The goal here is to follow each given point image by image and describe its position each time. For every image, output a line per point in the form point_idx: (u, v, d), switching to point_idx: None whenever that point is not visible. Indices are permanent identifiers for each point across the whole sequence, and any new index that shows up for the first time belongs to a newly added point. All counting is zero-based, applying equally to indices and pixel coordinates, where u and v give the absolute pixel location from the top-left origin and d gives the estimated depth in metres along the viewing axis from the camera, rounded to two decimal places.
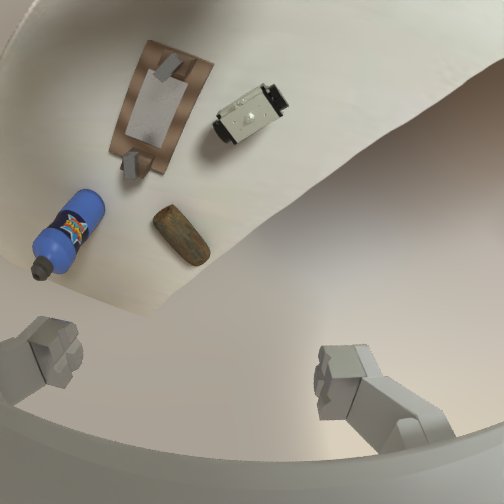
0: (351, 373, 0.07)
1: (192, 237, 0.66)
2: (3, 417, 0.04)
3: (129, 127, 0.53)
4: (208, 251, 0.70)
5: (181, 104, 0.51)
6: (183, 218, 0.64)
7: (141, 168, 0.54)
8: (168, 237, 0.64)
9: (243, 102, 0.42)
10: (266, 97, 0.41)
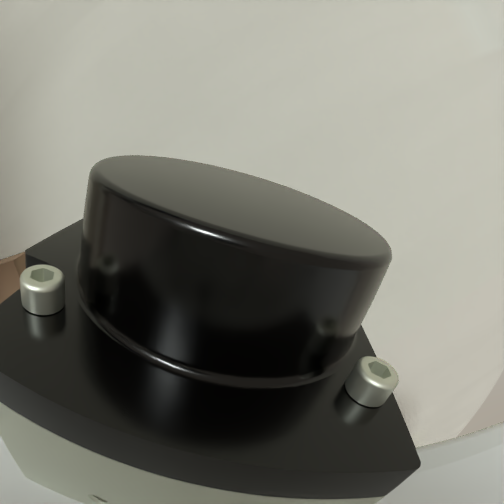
0: None
1: None
2: None
3: None
4: None
5: None
6: None
7: None
8: None
9: None
10: (32, 420, 0.02)
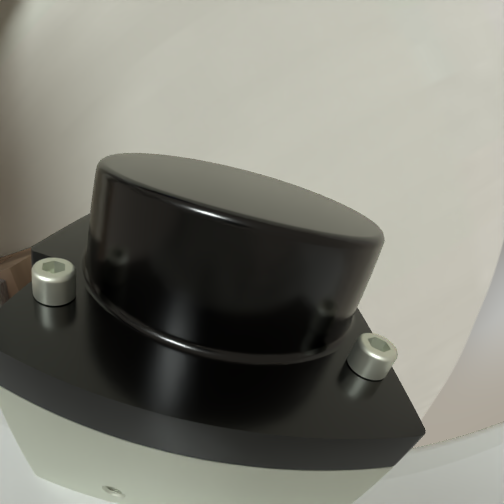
0: None
1: None
2: (3, 417, 0.04)
3: None
4: None
5: None
6: None
7: None
8: None
9: None
10: (49, 408, 0.02)
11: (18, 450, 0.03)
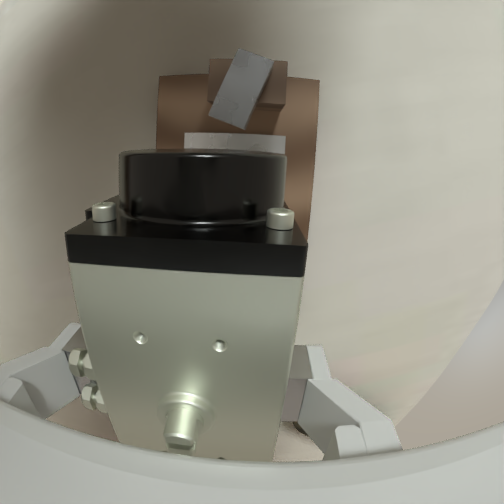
0: (297, 374, 0.07)
1: None
2: (3, 417, 0.04)
3: None
4: None
5: (287, 189, 0.25)
6: None
7: None
8: None
9: (90, 373, 0.07)
10: (104, 260, 0.05)
11: (18, 450, 0.03)
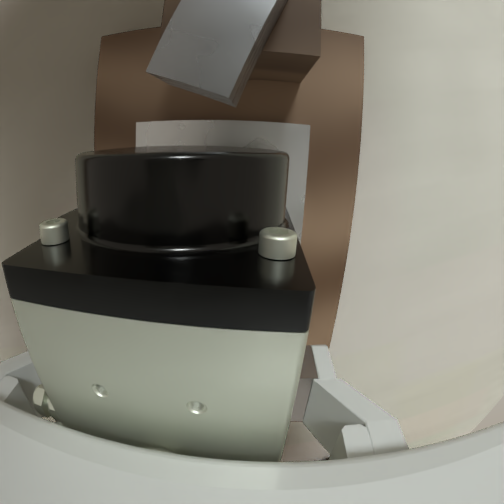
0: (303, 374, 0.07)
1: None
2: (3, 417, 0.04)
3: None
4: None
5: (310, 216, 0.15)
6: None
7: None
8: None
9: (56, 415, 0.05)
10: (45, 300, 0.04)
11: (18, 450, 0.03)
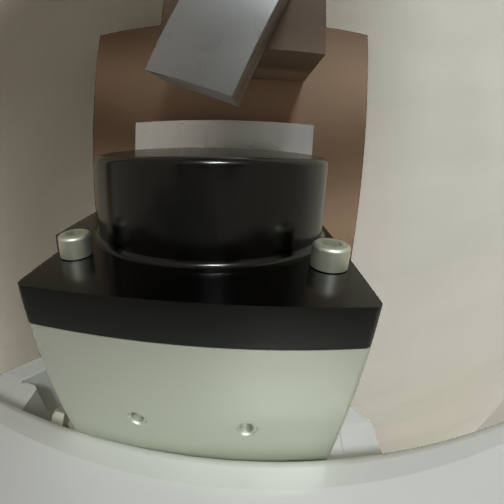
0: None
1: None
2: (3, 417, 0.04)
3: None
4: None
5: None
6: None
7: None
8: None
9: None
10: (75, 326, 0.03)
11: (18, 450, 0.03)
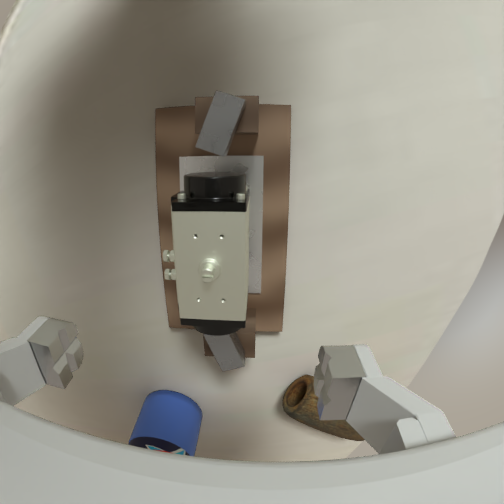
0: (351, 373, 0.07)
1: None
2: (3, 417, 0.04)
3: None
4: None
5: (267, 200, 0.30)
6: None
7: (246, 341, 0.29)
8: (319, 425, 0.34)
9: (171, 258, 0.20)
10: (185, 209, 0.19)
11: (18, 450, 0.03)
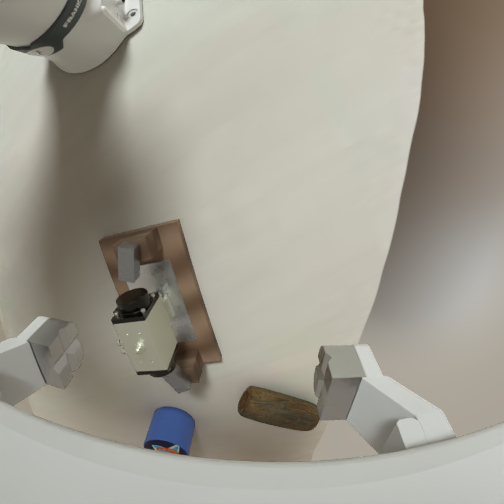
0: (351, 373, 0.07)
1: (290, 408, 0.49)
2: (3, 417, 0.04)
3: None
4: (316, 409, 0.51)
5: (181, 285, 0.45)
6: (269, 395, 0.50)
7: (189, 373, 0.45)
8: (264, 421, 0.48)
9: (121, 344, 0.36)
10: (118, 323, 0.34)
11: (18, 450, 0.03)
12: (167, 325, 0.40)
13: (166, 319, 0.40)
